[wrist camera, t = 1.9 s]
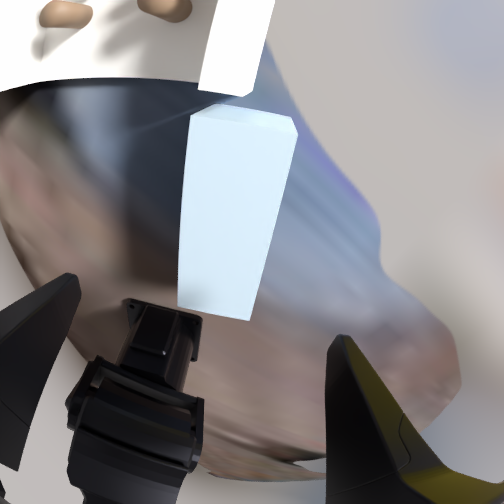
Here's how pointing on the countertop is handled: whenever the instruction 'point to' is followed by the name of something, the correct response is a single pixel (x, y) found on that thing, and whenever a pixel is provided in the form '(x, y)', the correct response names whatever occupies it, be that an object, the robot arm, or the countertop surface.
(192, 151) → the pale blue block
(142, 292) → the countertop surface
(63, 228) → the countertop surface
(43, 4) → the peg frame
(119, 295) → the countertop surface
